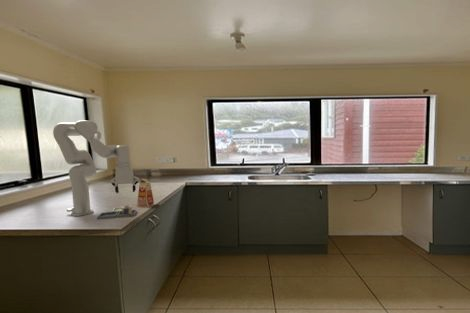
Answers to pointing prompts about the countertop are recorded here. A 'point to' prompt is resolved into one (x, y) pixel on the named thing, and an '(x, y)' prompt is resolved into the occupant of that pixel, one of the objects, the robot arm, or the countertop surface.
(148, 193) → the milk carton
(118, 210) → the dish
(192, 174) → the countertop surface
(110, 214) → the dish left
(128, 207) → the letter cube
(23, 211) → the countertop surface
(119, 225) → the countertop surface
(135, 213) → the dish right
